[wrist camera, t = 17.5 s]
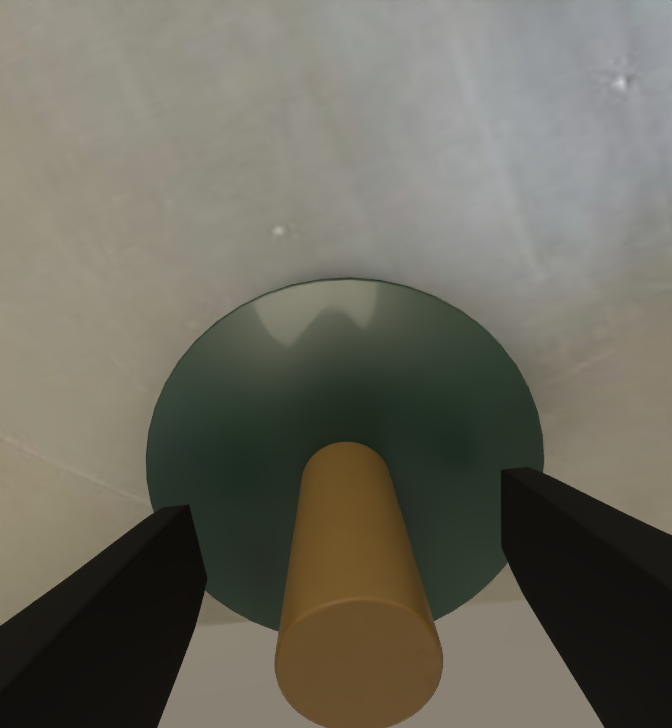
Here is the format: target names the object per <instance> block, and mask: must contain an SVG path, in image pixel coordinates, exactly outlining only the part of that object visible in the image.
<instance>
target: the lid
mask: <svg viewBox="0 0 672 728" xmlns="http://www.w3.org/2000/svg"><path fill="white" fill-rule="evenodd" d="M521 467H530V468H533V469H535V470H538V471H540V472H542V473H543V467H544V449H543V435H542V430H541V425H540V421H539V416H538V411H537V408H536V406H535V403H534V400H533V398H532V395H531V392H530V390H529V387H528V385H527V383H526V382H525V380H524V378H523V376H522V374H521V373H520V371H519V369H518V367H517V365H516V364H515V363H514V361H513V360H512V359H511V357H510V356H509V355H508V353H507V352H506V351H505V349H504V348H503V347H502V345H501V344H500V343H499V342H498V341H497V340H496V339H495V338H494V337H493V336H492V335H491V334H490V333H489V332H488V331H487V330H486V329H485V328H484V327H483V326H481V325H480V324H479V323H477V322H476V321H475V320H473V319H472V318H471V317H469V316H468V315H466V314H465V313H464V312H462V311H461V310H460V309H458V308H456V307H454V306H452V305H450V304H449V303H447V302H445V301H443V300H441V299H439V298H437V297H436V296H433V295H431V294H428V293H425V292H422V291H420V290H417V289H414V288H412V287H409V286H405V285H401V284H396V283H391V282H387V281H382V280H375V279H363V278H351V277H350V278H331V279H319V280H313V281H308V282H303V283H297V284H292V285H289V286H286V287H283V288H280V289H277V290H274V291H271V292H268V293H265V294H263V295H261V296H259V297H257V298H255V299H253V300H251V301H249V302H247V303H245V304H243V305H241V306H239V307H238V308H236V309H235V310H233V311H232V312H230V313H229V314H227V315H226V316H224V317H223V318H221V319H220V320H218V321H217V322H216V323H214V324H213V325H212V326H211V327H210V328H209V329H208V330H207V331H206V332H204V333H203V334H202V335H201V336H200V337H199V338H198V339H197V340H196V341H195V342H194V343H193V344H192V346H191V347H190V348H189V349H188V350H187V352H186V353H185V354H184V355H183V356H182V358H181V359H180V360H179V361H178V363H177V365H176V366H175V368H174V369H173V371H172V373H171V374H170V376H169V378H168V379H167V381H166V382H165V385H164V387H163V389H162V392H161V394H160V396H159V399H158V401H157V403H156V406H155V409H154V412H153V416H152V420H151V424H150V428H149V432H148V441H147V450H146V473H147V484H148V489H149V495H150V500H151V505H152V508H153V511H154V512H156V511H158V510H159V509H161V508H162V507H169V506H178V505H187V504H189V505H190V510H191V514H192V518H193V522H194V526H195V530H196V534H197V538H198V542H199V546H200V550H201V554H202V558H203V562H204V566H205V570H206V574H207V578H208V579H207V583H206V587H205V590H206V591H207V592H208V593H209V594H210V595H211V596H212V597H213V598H215V599H216V600H218V601H219V602H221V603H222V604H223V605H225V606H226V607H228V608H229V609H231V610H232V611H234V612H236V613H237V614H239V615H241V616H243V617H245V618H247V619H249V620H250V621H252V622H255V623H257V624H260V625H262V626H265V627H267V628H270V629H272V630H275V631H279V633H278V640H277V646H276V653H275V673H276V678H277V681H278V685H279V687H280V690H281V692H282V694H283V695H284V697H285V699H286V700H287V702H288V703H289V704H290V705H291V706H292V707H293V708H294V709H295V710H296V711H297V712H298V713H299V714H301V715H302V716H304V717H305V718H307V719H308V720H310V721H312V722H314V723H316V724H318V725H321V726H324V727H326V728H387V727H390V726H393V725H396V724H398V723H400V722H402V721H404V720H406V719H408V718H409V717H411V716H412V715H414V714H415V713H417V712H418V711H419V710H420V709H421V708H422V707H423V706H424V705H425V704H426V703H427V702H428V701H429V700H430V698H431V697H432V696H433V694H434V692H435V691H436V689H437V687H438V684H439V682H440V679H441V674H442V669H443V653H442V647H441V644H440V640H439V637H438V633H437V630H436V627H435V623H434V621H435V620H437V619H439V618H441V617H443V616H445V615H447V614H449V613H450V612H452V611H454V610H455V609H457V608H458V607H460V606H461V605H463V604H464V603H466V602H467V601H469V600H470V599H472V598H473V597H474V596H475V595H476V594H477V593H479V592H480V591H481V590H482V589H483V588H484V587H486V586H487V585H488V584H489V583H490V582H491V581H492V580H493V579H494V578H495V577H496V575H497V574H498V573H499V572H500V571H501V570H502V569H503V568H504V567H505V565H506V564H507V563H508V561H507V559H506V557H505V554H504V552H503V550H502V548H501V470H503V469H512V468H521Z"/></svg>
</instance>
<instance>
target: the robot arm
mask: <svg viewBox="0 0 672 728" xmlns="http://www.w3.org/2000/svg"><path fill="white" fill-rule="evenodd" d="M501 548H502V550H503V552H504V554H505V557H506V559H507V561H508V563H509V566H510V568H511V570H512V572H513V574H514V576H515V578H516V580H517V583H518V585H519V587H520V589H521V591H522V593H523V595H524V596H525V598H526V600H527V601H528V603H529V605H530V606H531V608H532V610H533V611H534V613H535V614H536V616H537V618H538V620H539V621H540V623H541V625H542V626H543V628H544V629H545V631H546V633H547V635H548V636H549V638H550V639H551V641H552V643H553V644H554V646H555V647H556V649H557V651H558V652H559V654H560V656H561V657H562V659H563V660H564V662H565V663H566V665H567V667H568V668H569V670H570V672H571V674H572V675H573V677H574V678H575V680H576V682H577V683H578V685H579V687H580V688H581V690H582V691H583V693H584V695H585V696H586V698H587V699H588V701H589V703H590V704H591V706H592V708H593V709H594V711H595V712H596V714H597V716H598V717H599V719H600V721H601V723H602V724H603V726H604V728H672V535H670V534H668V533H665V532H663V531H661V530H659V529H657V528H655V527H653V526H650V525H648V524H646V523H644V522H642V521H640V520H638V519H636V518H634V517H631V516H629V515H627V514H625V513H623V512H621V511H619V510H617V509H615V508H613V507H611V506H609V505H607V504H605V503H603V502H601V501H599V500H597V499H595V498H593V497H591V496H589V495H587V494H585V493H583V492H581V491H579V490H577V489H575V488H573V487H571V486H569V485H567V484H565V483H563V482H561V481H559V480H557V479H555V478H553V477H551V476H548V475H546V474H544V473H542V472H540V471H538V470H535V469H533V468H530V467H521V468H512V469H503V470H501ZM207 579H208V578H207V574H206V570H205V566H204V562H203V558H202V554H201V550H200V546H199V542H198V538H197V534H196V530H195V526H194V522H193V518H192V514H191V510H190V505H189V504H187V505H178V506H169V507H162V508H161V509H159V510H158V511H156V512H154V513H153V514H152V515H150V516H149V517H147V518H146V519H144V520H143V521H142V522H140V523H139V524H138V525H136V526H135V527H134V528H132V529H131V530H130V531H128V532H127V533H126V534H124V535H123V536H122V537H120V538H119V539H118V540H117V541H115V542H114V543H113V544H111V545H110V546H109V547H107V548H106V549H105V550H103V551H102V552H101V553H99V554H98V555H97V556H95V557H94V558H93V559H92V560H90V561H89V562H88V563H86V564H85V565H84V566H82V567H81V568H80V569H78V570H77V571H76V572H74V573H73V574H72V575H70V576H69V577H68V578H66V579H65V580H64V581H62V582H61V583H59V584H58V585H57V586H55V587H54V588H53V589H51V590H50V591H48V592H47V593H46V594H44V595H43V596H41V597H40V598H39V599H37V600H36V601H34V602H33V603H32V604H30V605H29V606H27V607H26V608H25V609H23V610H22V611H21V612H19V613H18V614H16V615H15V616H14V617H12V618H11V619H9V620H8V621H7V622H5V623H4V624H2V625H1V626H0V728H157V727H158V724H159V721H160V719H161V716H162V714H163V711H164V708H165V706H166V703H167V701H168V698H169V696H170V693H171V690H172V688H173V685H174V683H175V680H176V677H177V675H178V672H179V669H180V667H181V664H182V662H183V659H184V656H185V654H186V651H187V648H188V646H189V643H190V640H191V637H192V634H193V632H194V629H195V626H196V622H197V619H198V615H199V611H200V608H201V604H202V600H203V596H204V591H205V587H206V583H207Z"/></svg>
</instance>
